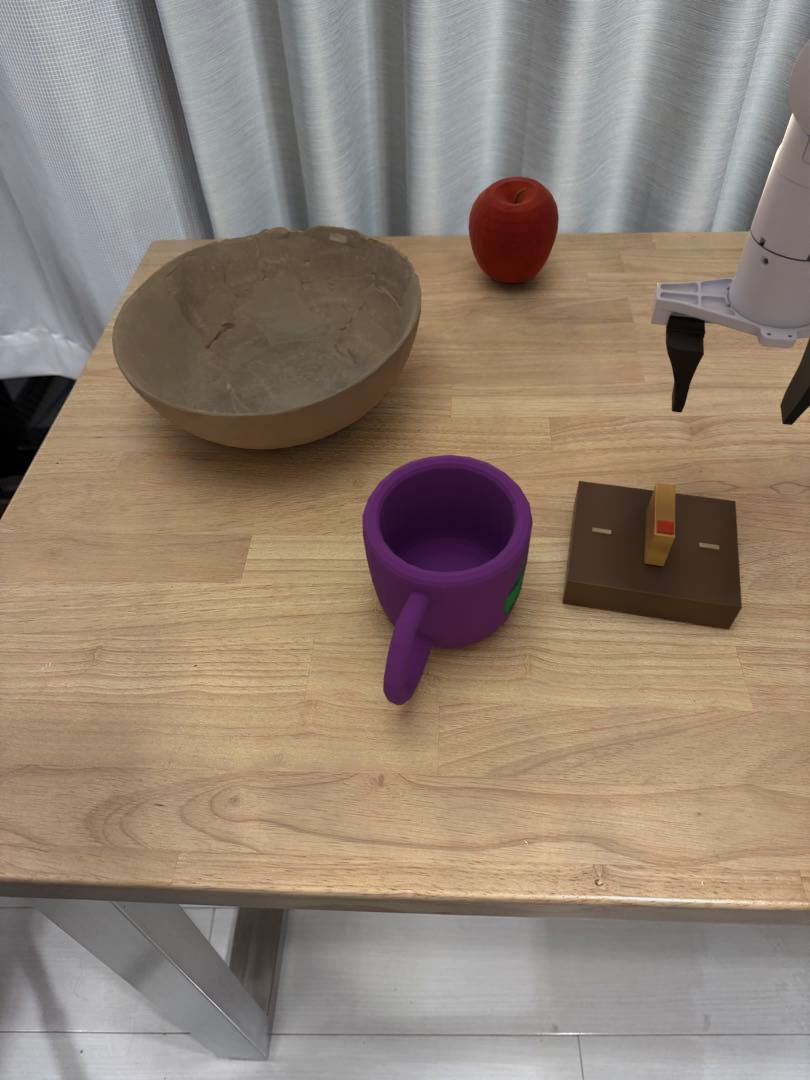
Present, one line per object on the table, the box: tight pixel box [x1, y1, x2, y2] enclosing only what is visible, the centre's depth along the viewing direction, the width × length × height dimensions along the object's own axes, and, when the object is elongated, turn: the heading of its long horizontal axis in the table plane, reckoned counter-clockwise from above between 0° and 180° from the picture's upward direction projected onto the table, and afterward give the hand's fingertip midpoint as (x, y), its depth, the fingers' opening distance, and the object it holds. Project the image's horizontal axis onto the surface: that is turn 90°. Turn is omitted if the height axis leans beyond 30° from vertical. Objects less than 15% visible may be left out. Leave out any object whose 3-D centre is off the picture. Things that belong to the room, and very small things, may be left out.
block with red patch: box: [644, 482, 677, 566], centre depth 53 cm, size 5×1×4 cm, turn 167°
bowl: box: [111, 224, 422, 450], centre depth 68 cm, size 28×28×10 cm
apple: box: [467, 176, 560, 284], centre depth 78 cm, size 10×10×10 cm
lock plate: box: [562, 480, 743, 630], centre depth 55 cm, size 12×10×3 cm
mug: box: [362, 454, 533, 706], centre depth 50 cm, size 17×11×10 cm, turn 160°
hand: (730, 409), depth 53 cm, fingers open, 7 cm apart
